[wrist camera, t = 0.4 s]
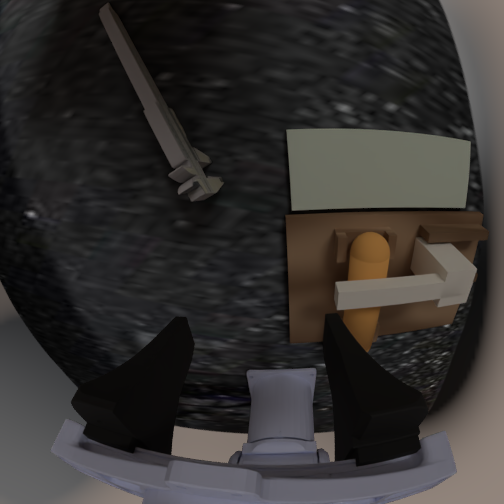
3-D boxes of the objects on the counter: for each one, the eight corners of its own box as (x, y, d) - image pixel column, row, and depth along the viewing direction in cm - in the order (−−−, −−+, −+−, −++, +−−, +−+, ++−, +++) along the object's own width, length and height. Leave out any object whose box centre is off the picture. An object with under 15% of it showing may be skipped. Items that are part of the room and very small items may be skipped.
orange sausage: (365, 339, 24) (371, 362, 22) (336, 342, 25) (340, 365, 22) (384, 224, 19) (398, 241, 16) (346, 226, 19) (357, 243, 17)
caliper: (226, 180, 20) (207, 206, 15) (214, 187, 21) (192, 215, 15) (110, 3, 13) (69, -16, 7) (101, 11, 13) (58, -6, 8)
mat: (462, 206, 19) (464, 208, 18) (291, 208, 21) (291, 210, 20) (467, 140, 16) (470, 141, 16) (286, 129, 18) (286, 130, 18)
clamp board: (448, 319, 25) (458, 333, 22) (289, 337, 27) (290, 356, 25) (478, 211, 19) (494, 222, 16) (285, 214, 21) (286, 227, 19)
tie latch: (436, 266, 21) (465, 302, 16) (324, 274, 22) (335, 319, 17) (442, 236, 19) (477, 269, 14) (325, 241, 21) (339, 281, 16)
